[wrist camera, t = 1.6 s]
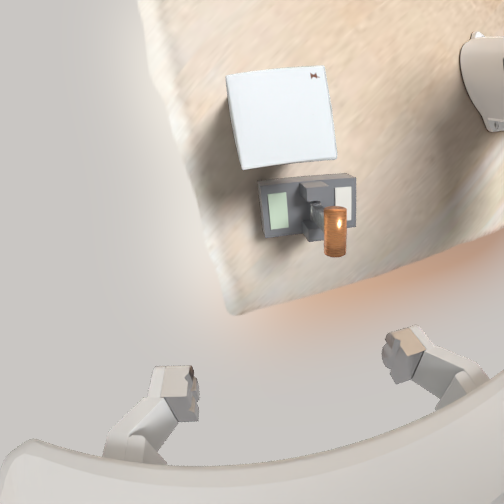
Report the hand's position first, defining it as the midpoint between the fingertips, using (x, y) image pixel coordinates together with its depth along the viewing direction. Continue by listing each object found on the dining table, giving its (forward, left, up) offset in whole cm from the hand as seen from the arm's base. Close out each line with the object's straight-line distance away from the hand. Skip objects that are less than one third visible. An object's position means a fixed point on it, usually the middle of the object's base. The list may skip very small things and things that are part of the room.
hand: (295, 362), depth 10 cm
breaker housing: (-7, +1, -25) cm, 25 cm away
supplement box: (-3, -9, -25) cm, 27 cm away
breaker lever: (-7, +1, -20) cm, 21 cm away
